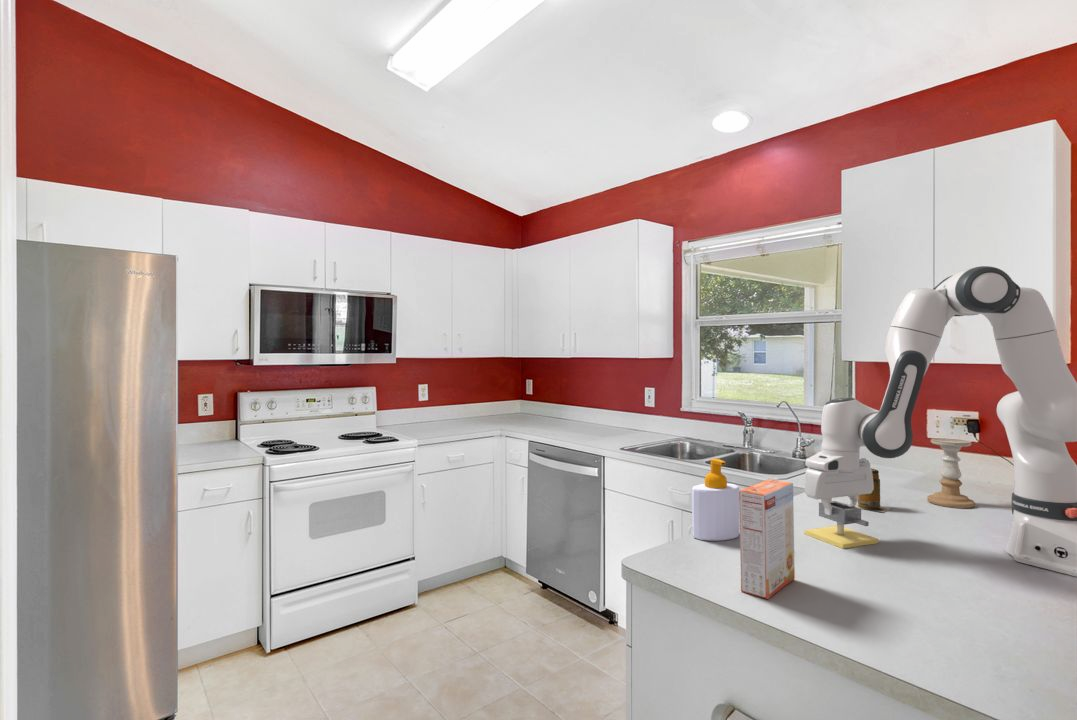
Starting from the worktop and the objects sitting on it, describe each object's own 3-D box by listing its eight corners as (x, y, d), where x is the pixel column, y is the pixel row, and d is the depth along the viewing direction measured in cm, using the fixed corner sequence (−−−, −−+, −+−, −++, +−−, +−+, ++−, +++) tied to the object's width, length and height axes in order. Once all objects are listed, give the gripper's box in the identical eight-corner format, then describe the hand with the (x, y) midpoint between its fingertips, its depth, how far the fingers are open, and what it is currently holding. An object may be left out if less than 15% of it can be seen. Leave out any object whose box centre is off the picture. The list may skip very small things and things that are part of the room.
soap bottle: (702, 543, 141) (702, 464, 141) (685, 533, 149) (685, 458, 148) (747, 538, 144) (746, 461, 144) (728, 529, 152) (728, 455, 152)
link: (875, 526, 137) (875, 512, 137) (858, 529, 135) (858, 515, 135) (834, 513, 149) (834, 500, 149) (818, 515, 147) (818, 502, 147)
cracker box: (767, 572, 122) (767, 477, 122) (795, 580, 117) (795, 482, 117) (738, 591, 112) (737, 488, 112) (767, 600, 108) (767, 494, 108)
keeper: (878, 542, 140) (878, 521, 140) (842, 548, 136) (842, 526, 136) (838, 528, 151) (838, 508, 151) (804, 533, 147) (804, 513, 147)
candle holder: (978, 510, 168) (978, 444, 168) (928, 505, 174) (928, 441, 174) (972, 501, 178) (972, 439, 178) (925, 496, 185) (925, 436, 185)
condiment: (861, 503, 177) (861, 466, 177) (891, 509, 171) (891, 470, 171) (852, 507, 173) (852, 469, 173) (882, 513, 166) (882, 473, 166)
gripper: (859, 455, 150) (858, 506, 150) (800, 460, 143) (800, 513, 143) (880, 459, 144) (880, 512, 144) (820, 464, 137) (819, 520, 137)
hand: (839, 512), depth 144 cm, fingers closed on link, 6 cm apart
